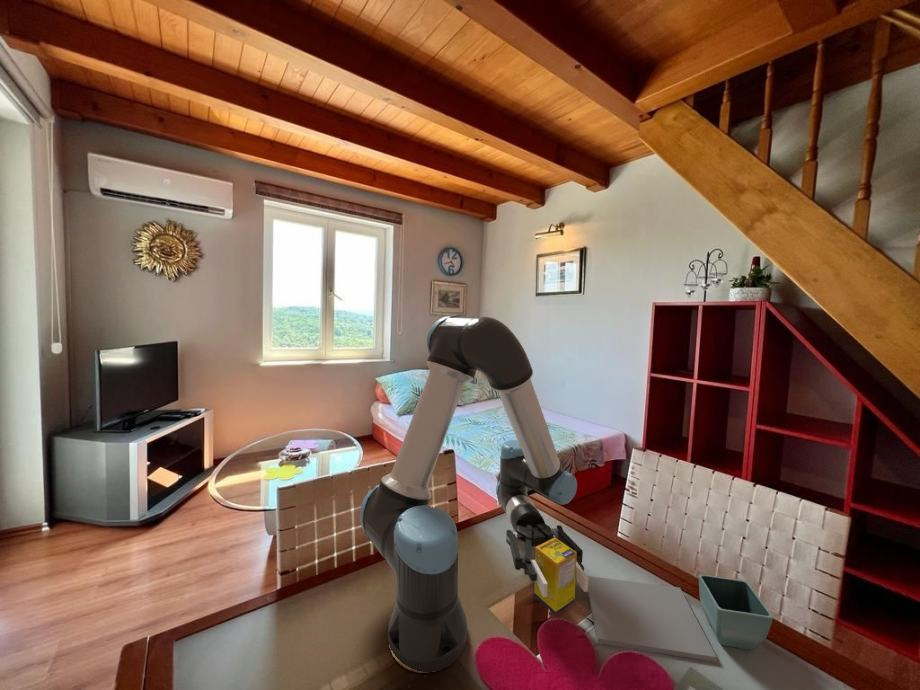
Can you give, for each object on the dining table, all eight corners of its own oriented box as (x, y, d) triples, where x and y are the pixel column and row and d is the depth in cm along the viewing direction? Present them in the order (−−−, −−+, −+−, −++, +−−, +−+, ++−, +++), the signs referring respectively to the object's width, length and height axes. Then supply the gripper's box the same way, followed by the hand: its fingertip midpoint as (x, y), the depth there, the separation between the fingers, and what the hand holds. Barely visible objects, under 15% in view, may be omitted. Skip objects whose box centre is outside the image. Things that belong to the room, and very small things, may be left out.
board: (598, 643, 68) (598, 638, 68) (585, 579, 84) (585, 575, 84) (716, 662, 65) (716, 657, 65) (679, 591, 80) (679, 587, 80)
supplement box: (552, 583, 79) (554, 536, 77) (575, 602, 74) (577, 552, 72) (532, 595, 75) (534, 546, 74) (555, 616, 70) (557, 563, 69)
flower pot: (770, 663, 65) (775, 617, 64) (714, 653, 66) (718, 609, 65) (742, 620, 73) (746, 580, 72) (694, 613, 75) (697, 573, 74)
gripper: (562, 528, 93) (614, 599, 71) (485, 535, 90) (513, 612, 68) (563, 500, 93) (616, 563, 70) (485, 507, 89) (514, 575, 67)
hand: (566, 587), depth 69 cm, fingers closed on supplement box, 8 cm apart
